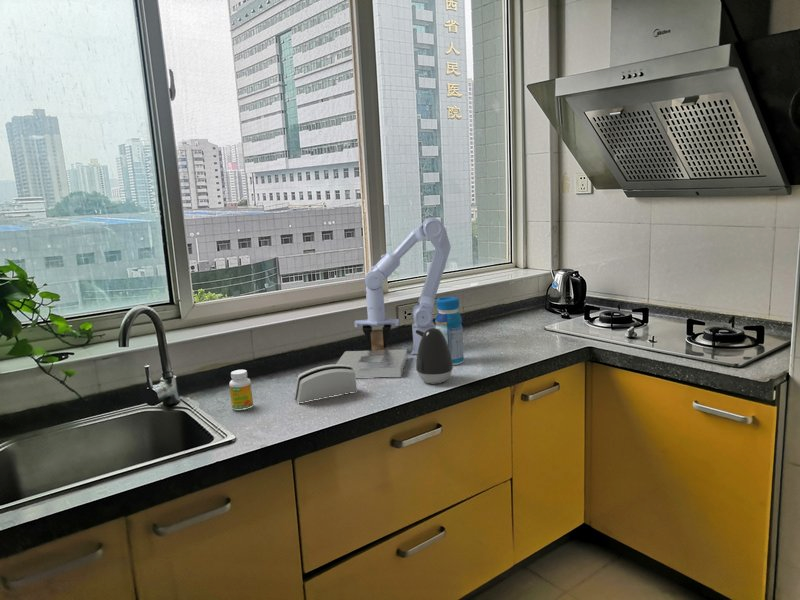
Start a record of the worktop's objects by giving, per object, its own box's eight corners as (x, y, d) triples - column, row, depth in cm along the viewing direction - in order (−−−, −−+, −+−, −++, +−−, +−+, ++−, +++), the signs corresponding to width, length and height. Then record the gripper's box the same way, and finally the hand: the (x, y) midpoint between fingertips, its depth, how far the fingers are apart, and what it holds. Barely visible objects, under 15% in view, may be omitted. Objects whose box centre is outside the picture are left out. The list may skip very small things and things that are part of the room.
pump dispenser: (427, 374, 175) (424, 323, 172) (459, 377, 169) (457, 325, 167) (409, 384, 166) (406, 331, 163) (443, 388, 161) (440, 333, 158)
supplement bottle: (231, 412, 152) (227, 376, 151) (232, 405, 158) (228, 370, 156) (253, 409, 154) (249, 373, 152) (253, 403, 159) (249, 367, 157)
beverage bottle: (463, 366, 180) (460, 300, 176) (435, 366, 182) (431, 301, 178) (465, 358, 188) (462, 295, 184) (438, 358, 190) (435, 296, 186)
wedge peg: (385, 352, 201) (384, 329, 200) (384, 355, 197) (382, 332, 196) (373, 353, 201) (372, 329, 200) (372, 356, 198) (370, 332, 196)
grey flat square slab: (407, 358, 192) (406, 349, 192) (400, 377, 173) (400, 367, 172) (345, 360, 194) (345, 351, 194) (332, 379, 175) (331, 369, 174)
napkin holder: (351, 387, 167) (353, 357, 162) (357, 397, 163) (359, 366, 158) (292, 398, 160) (292, 367, 155) (297, 409, 156) (297, 378, 152)
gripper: (351, 310, 193) (354, 351, 196) (396, 308, 192) (398, 349, 194) (355, 306, 200) (358, 345, 203) (398, 304, 199) (401, 344, 201)
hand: (378, 347), depth 199 cm, fingers closed on wedge peg, 4 cm apart
